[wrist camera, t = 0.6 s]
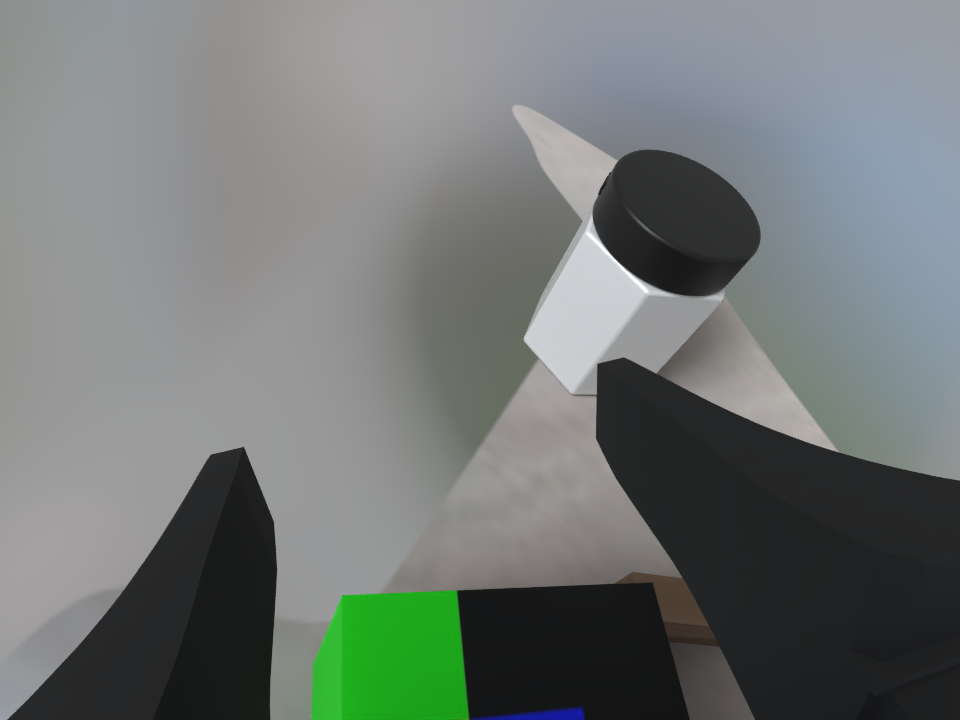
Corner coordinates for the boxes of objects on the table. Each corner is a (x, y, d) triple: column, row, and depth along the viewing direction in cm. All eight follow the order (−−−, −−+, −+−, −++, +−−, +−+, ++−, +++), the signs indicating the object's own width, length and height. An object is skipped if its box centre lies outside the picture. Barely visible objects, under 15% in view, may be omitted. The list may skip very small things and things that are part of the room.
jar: (628, 299, 44) (730, 159, 34) (666, 399, 39) (796, 269, 30) (509, 291, 41) (587, 135, 31) (536, 397, 36) (635, 252, 27)
